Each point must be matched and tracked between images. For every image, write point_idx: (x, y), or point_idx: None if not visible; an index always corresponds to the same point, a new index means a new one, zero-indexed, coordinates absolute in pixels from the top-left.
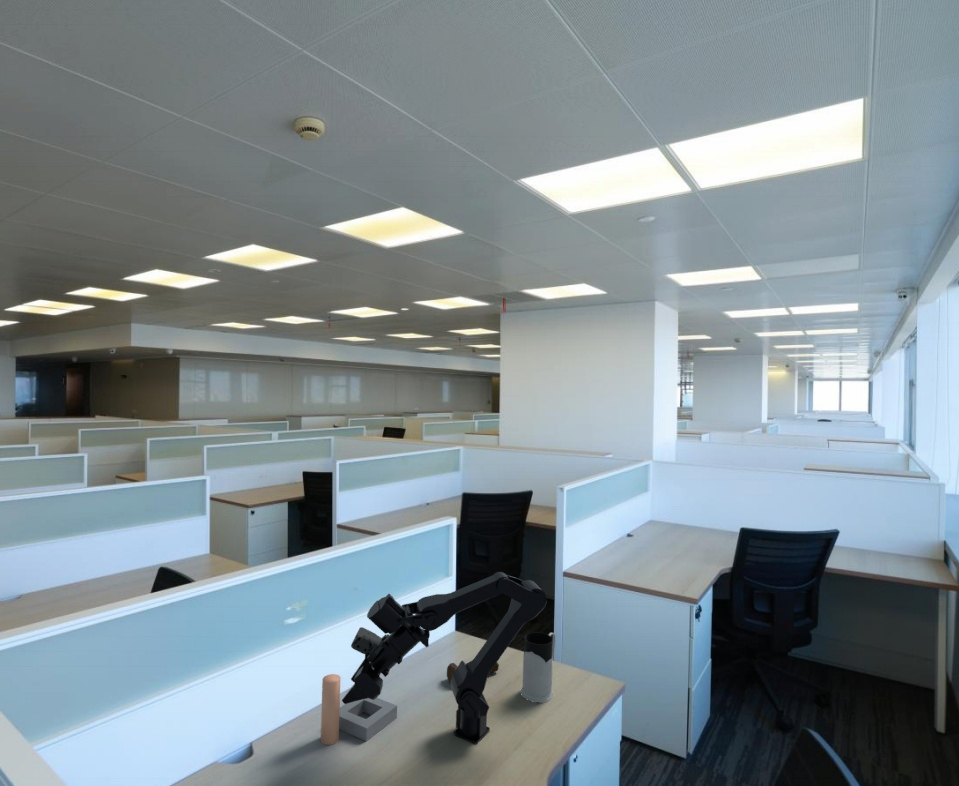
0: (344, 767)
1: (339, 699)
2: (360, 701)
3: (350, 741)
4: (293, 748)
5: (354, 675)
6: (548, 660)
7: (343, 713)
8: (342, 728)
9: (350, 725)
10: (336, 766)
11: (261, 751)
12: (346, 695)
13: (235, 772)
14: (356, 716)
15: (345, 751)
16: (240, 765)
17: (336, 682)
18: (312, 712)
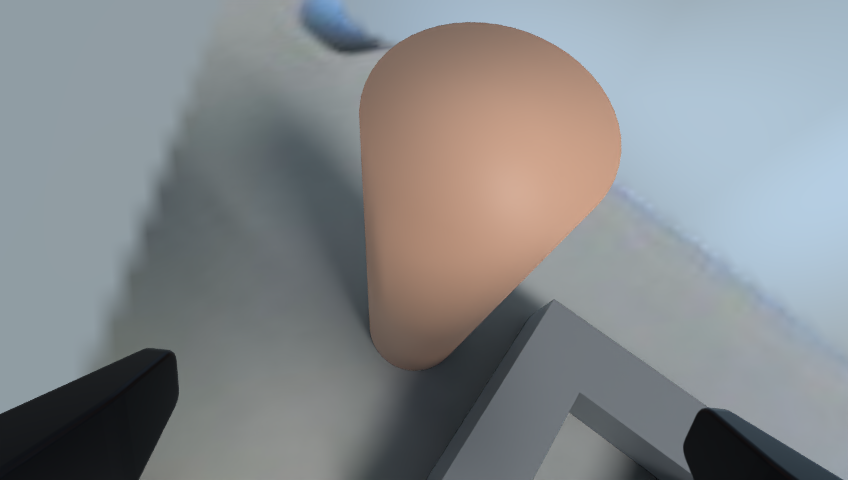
0: (159, 439)
1: (436, 318)
2: None
3: (389, 443)
4: (361, 177)
5: (753, 463)
6: None
7: (554, 371)
8: (490, 380)
9: (466, 432)
10: (181, 391)
11: (356, 75)
12: (9, 414)
13: (247, 22)
14: (525, 469)
15: (302, 425)
16: (284, 29)
17: (390, 194)
18: (625, 216)
